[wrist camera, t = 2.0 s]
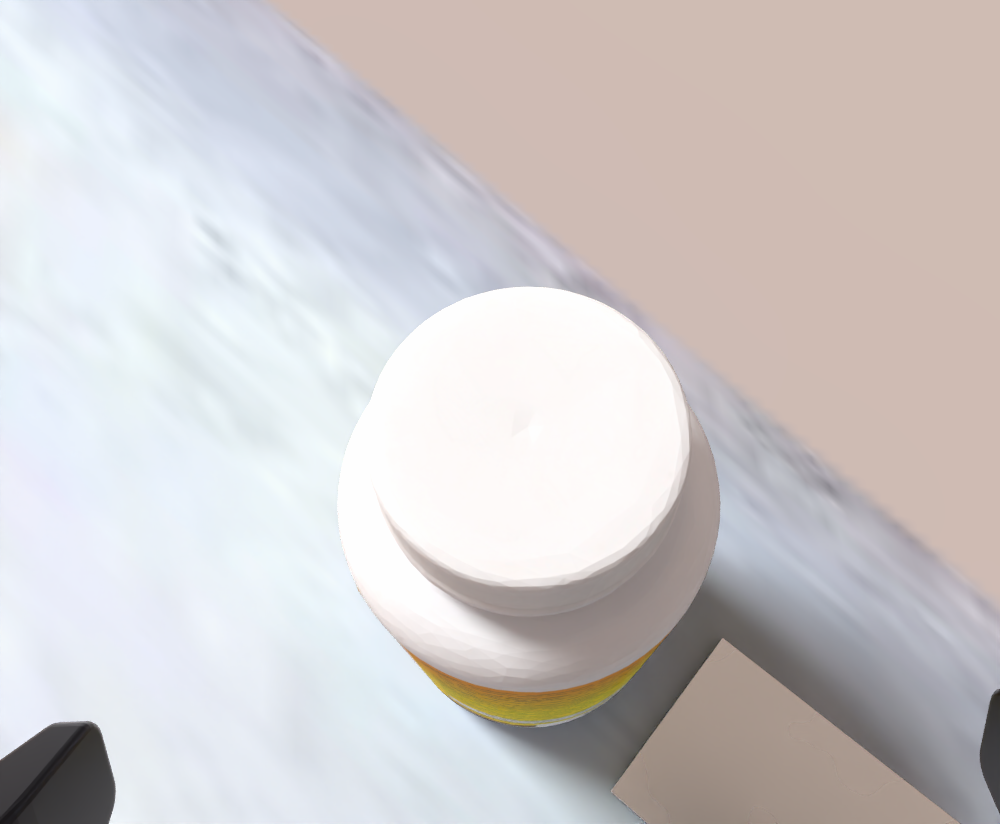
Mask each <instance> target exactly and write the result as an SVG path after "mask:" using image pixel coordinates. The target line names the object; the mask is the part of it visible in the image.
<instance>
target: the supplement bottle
mask: <svg viewBox="0 0 1000 824" xmlns="http://www.w3.org/2000/svg"><path fill="white" fill-rule="evenodd" d="M338 519H339V531H340V538H341V543H342V547H343V550H344V554H345V557H346V561H347V564H348V567H349V569H350V571H351V574H352V576H353V579H354V581H355V583H356V586H357V588H358V590H359V592H360V594H361V595H362V597H363V598H364V600H365V601H366V603H367V604H368V606H369V608H370V609H371V611H372V612H373V613H374V615H375V616H376V617H377V618H378V620H379V621H380V622H381V623H382V625H383V626H384V627H385V628H386V629H387V630H388V631H389V633H390V634H391V635H392V636H393V637H394V638H395V639H396V640H397V642H398V643H399V644H400V645H401V646H402V648H403V649H404V650H405V651H406V652H407V653H408V654H409V655H410V657H411V658H412V659H413V660H414V662H415V663H416V664H417V665H418V666H419V667H420V668H421V669H422V670H423V672H424V673H425V674H426V675H427V676H428V677H429V678H430V679H431V680H432V682H433V683H434V684H435V685H436V686H437V687H438V688H439V689H440V690H441V691H442V692H443V693H444V694H445V695H446V696H447V697H449V698H450V699H451V700H452V701H454V702H455V703H456V704H458V705H459V706H461V707H462V708H464V709H466V710H467V711H469V712H471V713H473V714H475V715H478V716H480V717H482V718H485V719H487V720H490V721H494V722H497V723H501V724H505V725H509V726H516V727H532V728H533V727H546V726H552V725H557V724H561V723H565V722H569V721H572V720H574V719H577V718H579V717H582V716H584V715H586V714H588V713H590V712H591V711H593V710H595V709H597V708H598V707H600V706H601V705H603V704H604V703H606V702H607V701H608V700H609V699H611V698H612V697H613V696H614V695H616V694H617V693H618V692H619V691H620V690H621V689H622V688H623V687H624V686H625V685H626V684H627V683H628V682H629V681H630V679H631V678H632V677H633V676H634V674H635V673H636V672H637V671H638V670H639V669H640V668H641V666H642V665H643V664H644V663H645V661H646V660H647V659H648V658H649V657H650V656H651V654H652V653H653V652H654V651H655V650H656V648H657V647H658V646H659V645H660V644H661V642H662V641H663V640H664V639H665V638H666V636H667V635H668V634H669V633H670V632H671V630H672V629H673V628H674V627H675V626H676V625H677V623H678V622H679V621H680V619H681V618H682V617H683V615H684V614H685V612H686V611H687V610H688V608H689V606H690V605H691V603H692V602H693V600H694V598H695V596H696V594H697V593H698V591H699V589H700V587H701V585H702V583H703V581H704V579H705V576H706V574H707V571H708V568H709V565H710V562H711V560H712V557H713V553H714V549H715V545H716V541H717V536H718V529H719V522H720V492H719V483H718V477H717V472H716V466H715V461H714V457H713V454H712V451H711V448H710V445H709V443H708V440H707V438H706V435H705V433H704V431H703V428H702V426H701V424H700V423H699V421H698V419H697V417H696V415H695V413H694V412H693V410H692V409H691V407H690V406H689V404H688V403H687V400H686V396H685V394H684V391H683V389H682V386H681V384H680V381H679V378H678V377H677V375H676V373H675V371H674V369H673V367H672V365H671V364H670V362H669V361H668V359H667V358H666V356H665V355H664V353H663V352H662V350H661V349H660V348H659V347H658V346H657V345H656V343H655V342H654V341H653V340H652V339H651V338H650V336H649V335H648V334H647V333H646V332H644V331H643V330H642V329H641V328H640V327H638V326H637V325H636V324H635V323H634V322H632V321H631V320H630V319H628V318H627V317H625V316H624V315H622V314H621V313H619V312H618V311H616V310H615V309H613V308H611V307H609V306H607V305H605V304H603V303H601V302H599V301H596V300H594V299H591V298H589V297H586V296H583V295H579V294H576V293H573V292H569V291H565V290H559V289H552V288H545V287H514V288H506V289H498V290H494V291H489V292H485V293H481V294H478V295H475V296H472V297H469V298H466V299H463V300H461V301H459V302H457V303H455V304H453V305H451V306H449V307H447V308H445V309H443V310H441V311H439V312H438V313H437V314H435V315H434V316H432V317H431V318H429V319H428V320H426V321H425V322H424V323H423V324H421V325H420V326H419V327H418V328H416V329H415V330H414V331H413V332H412V333H411V334H410V335H409V336H408V337H407V338H406V339H405V341H404V342H403V343H402V344H401V345H400V346H399V347H398V349H397V350H396V351H395V352H394V354H393V355H392V357H391V358H390V359H389V361H388V362H387V364H386V366H385V368H384V370H383V371H382V373H381V375H380V377H379V380H378V382H377V384H376V387H375V389H374V392H373V395H372V399H371V402H370V403H369V405H368V406H367V408H366V409H365V411H364V412H363V414H362V416H361V418H360V420H359V422H358V424H357V426H356V428H355V430H354V432H353V434H352V436H351V439H350V441H349V444H348V447H347V450H346V453H345V456H344V460H343V465H342V469H341V475H340V481H339V490H338Z"/></svg>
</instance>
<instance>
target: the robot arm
mask: <svg viewBox="0 0 1000 824" xmlns="http://www.w3.org/2000/svg"><path fill="white" fill-rule="evenodd" d="M980 763H981V769H982V772H983V776H984V778H985V781H986V783H987V786H988V788H989V790H990V792H991V795H992V797H993V799H994V802H995V804H996V806H997V809H998V811H999V813H1000V689H998V690H996V691H995V692H994V694H993V695H992V697H991V700H990V704H989V709H988V714H987V719H986V724H985V729H984V733H983V738H982V743H981V748H980ZM115 793H116V790H115V781H114V777H113V773H112V769H111V766H110V762H109V758H108V755H107V751H106V748H105V744H104V740H103V737H102V733H101V731H100V728H99V727H98V726H97V725H96V724H95V723H93V722H90V721H80V722H59V723H54V724H52V725H50V726H48V727H47V728H45V729H43V730H42V731H41V732H39V733H38V734H36V735H35V736H34V737H32V738H31V739H29V740H28V741H27V742H25V743H24V744H22V745H21V746H19V747H18V748H17V749H15V750H14V751H12V752H11V753H10V754H8V755H7V756H5V757H4V758H3V759H1V760H0V824H109V821H110V818H111V814H112V811H113V807H114V802H115Z"/></svg>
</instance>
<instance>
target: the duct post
mask: <svg viewBox="0 0 1000 824" xmlns="http://www.w3.org/2000/svg"><path fill="white" fill-rule="evenodd" d="M610 792H611V793H613V794H614V795H615V796H616V797H617V798H618V799H619V800H621V801H622V802H623V803H624V804H625V805H626V806H627V807H629V808H630V809H631V810H632V811H633V812H634V813H635V814H637V815H638V816H639V817H640V818H641V819H642V820H643V821H645V822H646V823H647V824H960V823H959V822H958V821H956V820H955V819H954V818H953V817H951V816H950V815H949V814H947V813H946V812H945V811H944V810H942V809H941V808H940V807H938V806H937V805H936V804H935V803H933V802H932V801H931V800H930V799H928V798H927V797H926V796H924V795H923V794H922V793H921V792H919V791H918V790H917V789H915V788H914V787H913V786H912V785H910V784H909V783H908V782H906V781H905V780H904V779H903V778H901V777H900V776H899V775H898V774H896V773H895V772H894V771H892V770H891V769H890V768H889V767H887V766H886V765H885V764H883V763H882V762H881V761H880V760H878V759H877V758H876V757H875V756H873V755H872V754H871V753H869V752H868V751H867V750H866V749H864V748H863V747H862V746H860V745H859V744H858V743H857V742H855V741H854V740H853V739H852V738H850V737H849V736H848V735H846V734H845V733H844V732H843V731H841V730H840V729H839V728H837V727H836V726H835V725H834V724H832V723H831V722H830V721H828V720H827V719H826V718H825V717H823V716H822V715H821V714H820V713H818V712H817V711H816V710H814V709H813V708H812V707H811V706H809V705H808V704H807V703H805V702H804V701H803V700H802V699H800V698H799V697H798V696H797V695H795V694H794V693H793V692H791V691H790V690H789V689H788V688H786V687H785V686H784V685H782V684H781V683H780V682H779V681H777V680H776V679H775V678H774V677H772V676H771V675H770V674H768V673H767V672H766V671H765V670H763V669H762V668H761V667H759V666H758V665H757V664H756V663H754V662H753V661H752V660H750V659H749V658H748V657H747V656H745V655H744V654H743V653H742V652H740V651H739V650H738V649H736V648H735V647H734V646H733V645H731V644H730V643H729V642H727V641H726V640H725V639H724V638H722V639H721V640H720V641H719V643H718V644H717V646H716V647H715V648H714V650H713V651H712V652H711V654H710V655H709V657H708V658H707V659H706V661H705V662H704V663H703V665H702V666H701V667H700V669H699V670H698V672H697V673H696V674H695V676H694V677H693V678H692V680H691V681H690V683H689V684H688V685H687V687H686V688H685V689H684V691H683V692H682V694H681V695H680V696H679V698H678V699H677V700H676V702H675V703H674V704H673V706H672V707H671V709H670V710H669V711H668V713H667V714H666V715H665V717H664V718H663V720H662V721H661V722H660V724H659V725H658V726H657V728H656V729H655V731H654V732H653V733H652V735H651V736H650V737H649V739H648V740H647V741H646V743H645V744H644V746H643V747H642V748H641V750H640V751H639V752H638V754H637V755H636V757H635V758H634V759H633V761H632V762H631V763H630V765H629V766H628V767H627V769H626V770H625V772H624V773H623V774H622V776H621V777H620V778H619V780H618V781H617V783H616V784H615V785H614V787H613V788H612V789H611V791H610Z"/></svg>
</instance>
